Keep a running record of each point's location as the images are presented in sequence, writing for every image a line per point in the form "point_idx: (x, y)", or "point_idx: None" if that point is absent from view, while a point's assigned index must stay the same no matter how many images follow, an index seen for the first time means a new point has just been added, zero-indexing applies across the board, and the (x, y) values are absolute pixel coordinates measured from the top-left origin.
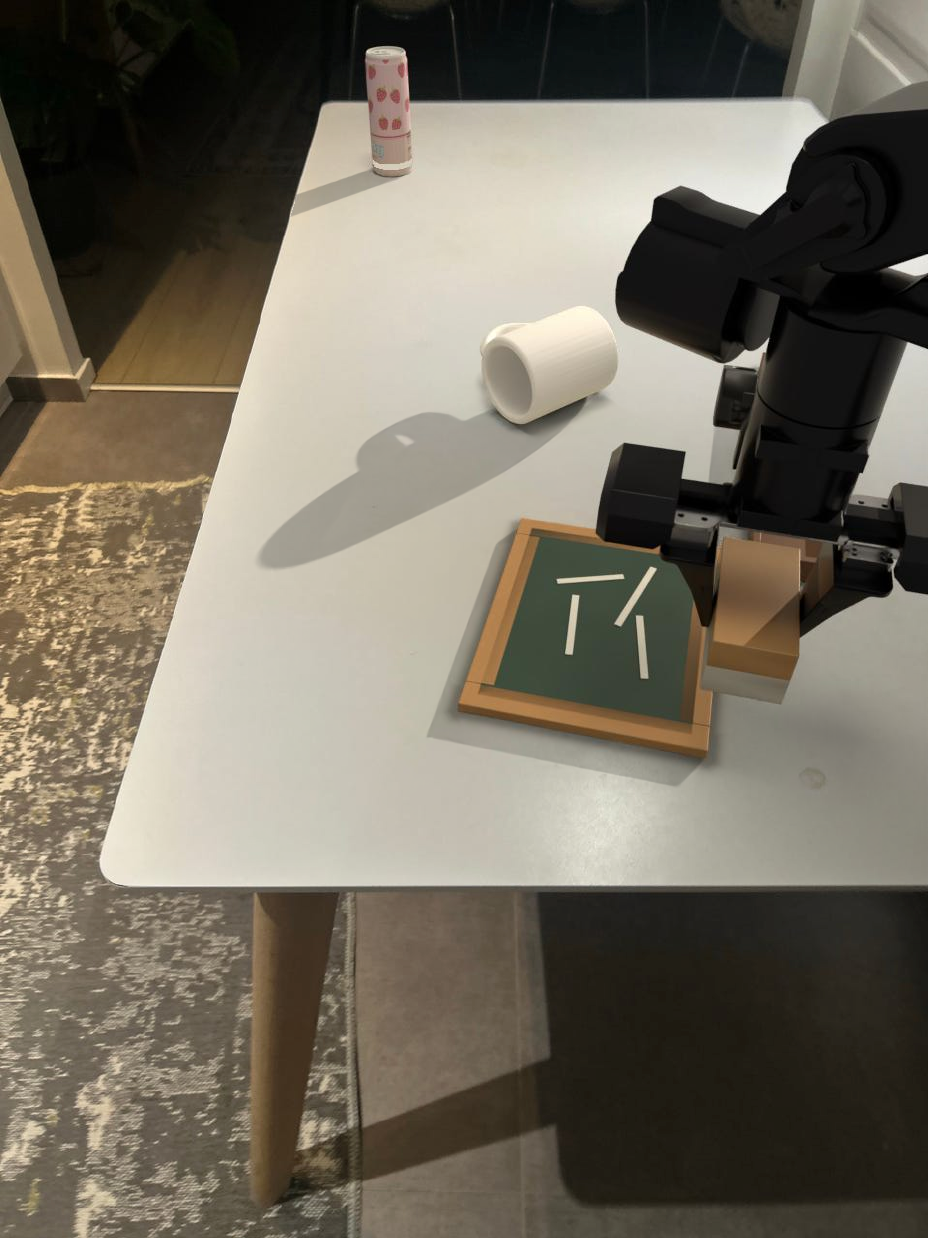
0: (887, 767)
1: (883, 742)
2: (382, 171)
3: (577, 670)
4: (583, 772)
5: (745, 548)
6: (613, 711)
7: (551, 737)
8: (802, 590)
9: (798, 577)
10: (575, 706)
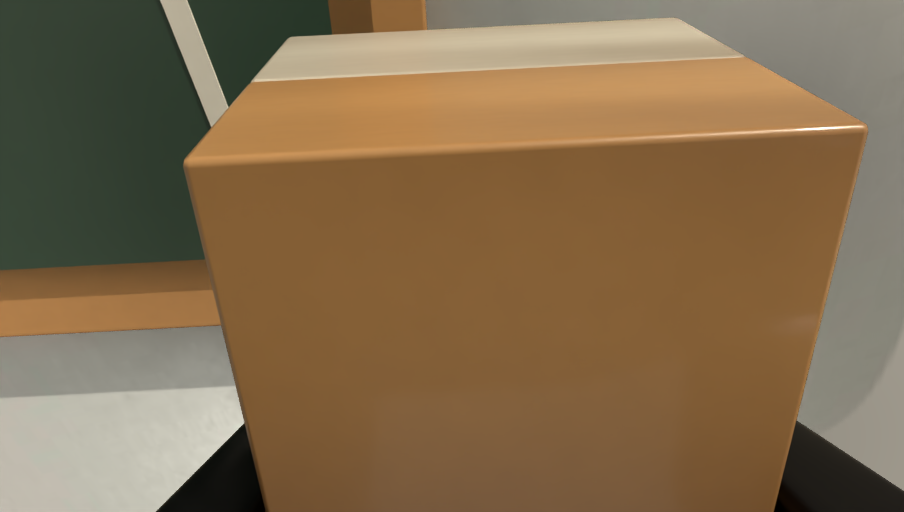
0: (883, 200)
1: (899, 123)
2: None
3: (24, 154)
4: (191, 397)
5: (398, 254)
6: (184, 267)
7: (81, 336)
8: (787, 508)
9: (783, 441)
10: (85, 276)
